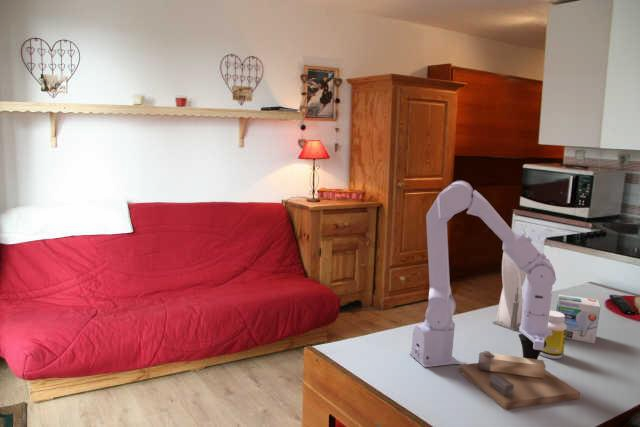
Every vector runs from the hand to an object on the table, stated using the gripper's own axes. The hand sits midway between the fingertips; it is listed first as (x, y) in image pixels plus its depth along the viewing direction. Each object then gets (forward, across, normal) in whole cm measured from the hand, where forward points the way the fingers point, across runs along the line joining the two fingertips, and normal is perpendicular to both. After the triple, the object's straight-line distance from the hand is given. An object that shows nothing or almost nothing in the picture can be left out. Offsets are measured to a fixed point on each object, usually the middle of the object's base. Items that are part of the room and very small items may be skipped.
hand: (528, 366), depth 119 cm
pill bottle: (+3, +15, -8) cm, 17 cm away
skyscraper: (+3, +34, 0) cm, 34 cm away
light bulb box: (+3, +30, -17) cm, 35 cm away
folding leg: (+1, -3, +5) cm, 5 cm away
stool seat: (+2, -5, +3) cm, 6 cm away
